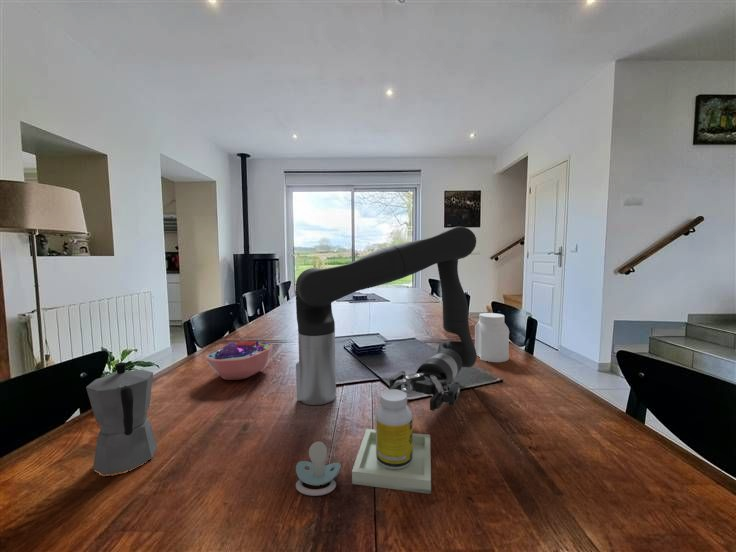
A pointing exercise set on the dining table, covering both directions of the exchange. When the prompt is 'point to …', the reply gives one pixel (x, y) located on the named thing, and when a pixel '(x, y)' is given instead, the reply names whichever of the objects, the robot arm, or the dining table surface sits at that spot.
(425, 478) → the dish
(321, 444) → the pacifier
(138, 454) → the coffeepot
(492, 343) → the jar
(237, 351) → the cell model
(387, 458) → the pill bottle
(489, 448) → the dining table surface
